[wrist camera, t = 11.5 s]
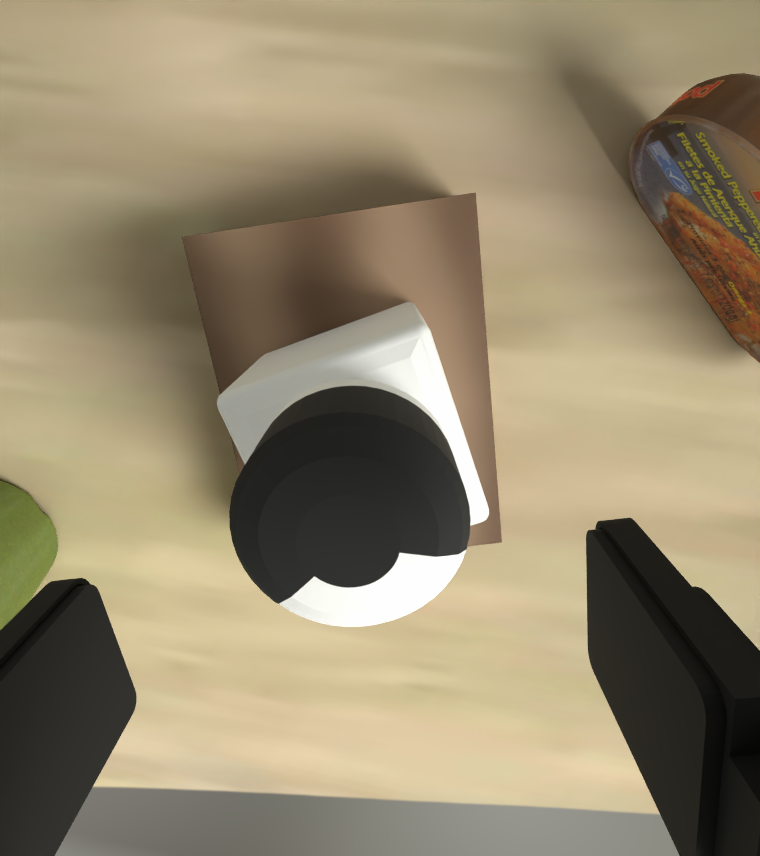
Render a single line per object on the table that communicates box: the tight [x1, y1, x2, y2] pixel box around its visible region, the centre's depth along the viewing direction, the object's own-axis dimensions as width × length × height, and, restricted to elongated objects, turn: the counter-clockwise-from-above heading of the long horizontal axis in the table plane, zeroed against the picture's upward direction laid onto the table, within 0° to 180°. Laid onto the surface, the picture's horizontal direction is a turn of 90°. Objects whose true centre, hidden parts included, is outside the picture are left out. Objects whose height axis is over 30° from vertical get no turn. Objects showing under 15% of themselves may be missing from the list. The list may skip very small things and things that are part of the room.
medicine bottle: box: [217, 302, 489, 627], centre depth 18 cm, size 7×7×12 cm
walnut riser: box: [182, 193, 502, 546], centre depth 26 cm, size 12×16×4 cm
